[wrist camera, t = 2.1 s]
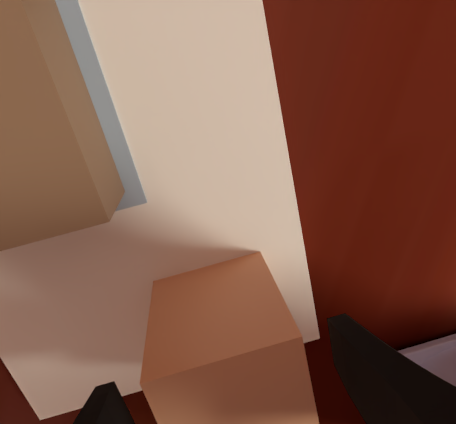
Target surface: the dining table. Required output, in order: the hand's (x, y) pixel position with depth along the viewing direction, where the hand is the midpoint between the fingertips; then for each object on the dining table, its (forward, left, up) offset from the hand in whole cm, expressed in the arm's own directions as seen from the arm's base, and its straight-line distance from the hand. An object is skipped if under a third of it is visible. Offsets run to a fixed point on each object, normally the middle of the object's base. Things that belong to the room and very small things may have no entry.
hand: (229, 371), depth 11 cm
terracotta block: (0, 0, -3) cm, 3 cm away
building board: (+2, -4, -4) cm, 7 cm away
